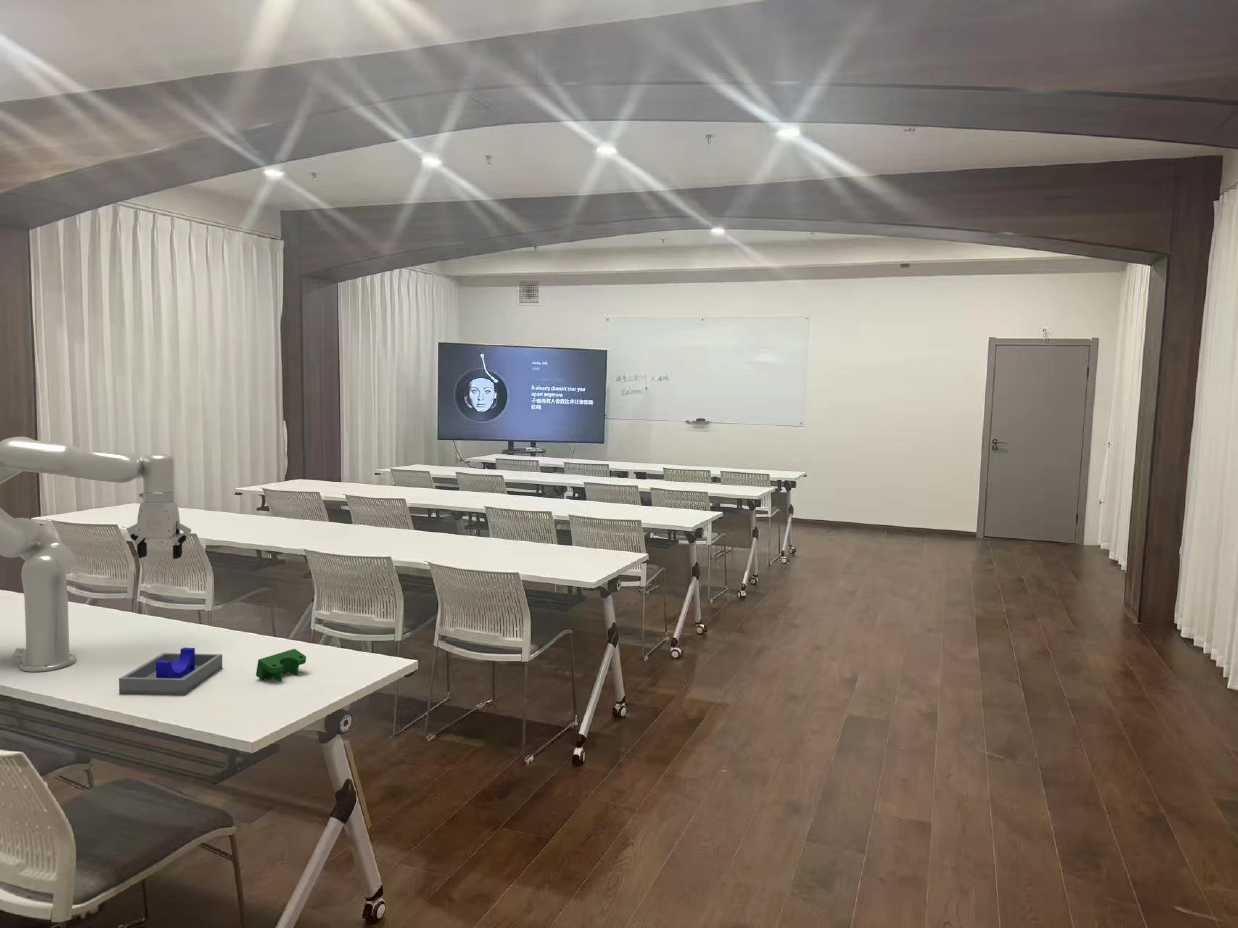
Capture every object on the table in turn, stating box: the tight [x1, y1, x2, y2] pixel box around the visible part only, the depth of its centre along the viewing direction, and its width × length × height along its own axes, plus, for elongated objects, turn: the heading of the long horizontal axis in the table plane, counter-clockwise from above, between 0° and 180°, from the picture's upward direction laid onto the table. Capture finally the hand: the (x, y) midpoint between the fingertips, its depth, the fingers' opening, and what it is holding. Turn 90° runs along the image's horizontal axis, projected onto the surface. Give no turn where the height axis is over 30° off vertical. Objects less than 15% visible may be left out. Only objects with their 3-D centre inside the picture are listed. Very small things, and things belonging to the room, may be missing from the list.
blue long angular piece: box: [156, 647, 196, 678], centre depth 207 cm, size 12×4×6 cm, turn 177°
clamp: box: [255, 648, 307, 682], centre depth 213 cm, size 12×6×9 cm, turn 144°
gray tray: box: [118, 652, 223, 697], centre depth 207 cm, size 16×20×4 cm
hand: (159, 557), depth 224 cm, fingers open, 9 cm apart
